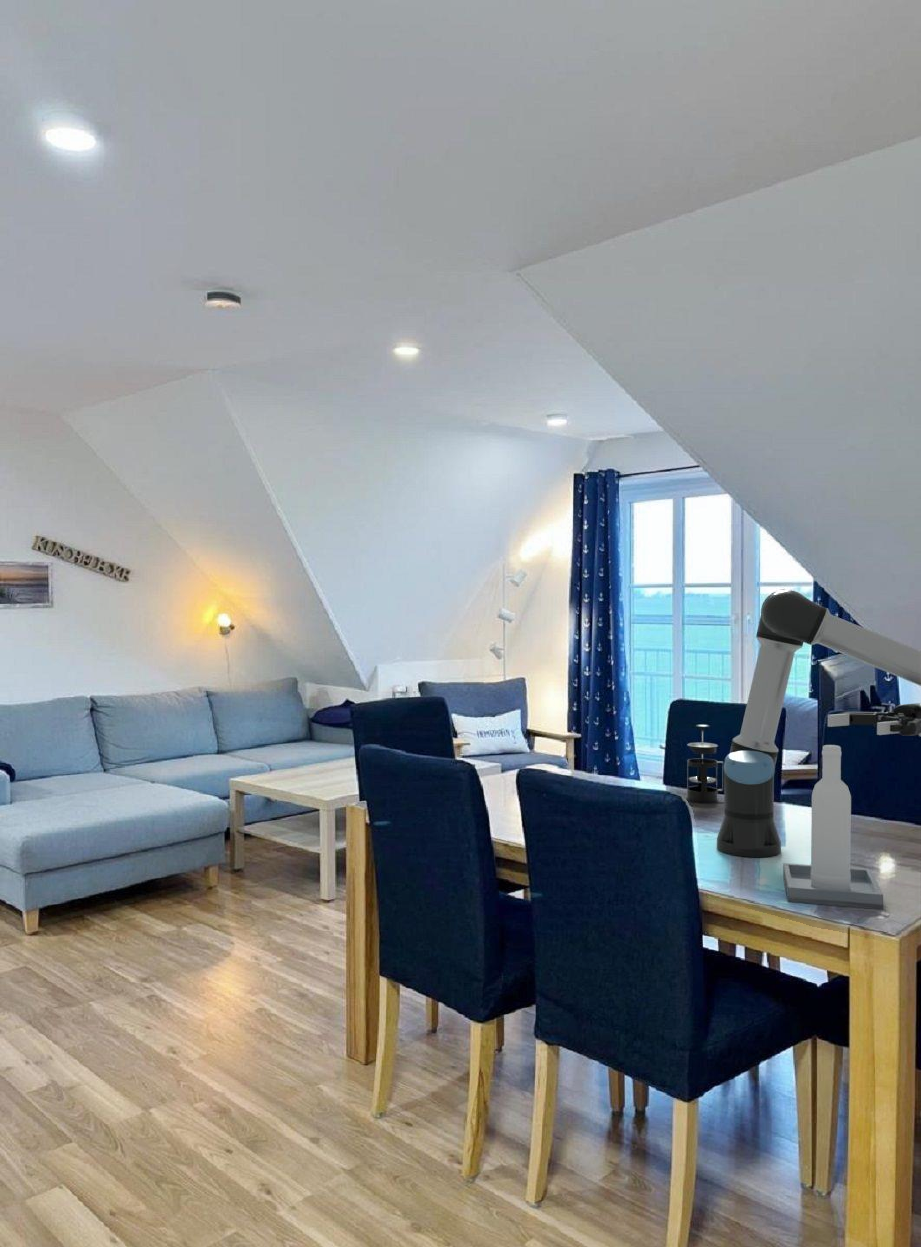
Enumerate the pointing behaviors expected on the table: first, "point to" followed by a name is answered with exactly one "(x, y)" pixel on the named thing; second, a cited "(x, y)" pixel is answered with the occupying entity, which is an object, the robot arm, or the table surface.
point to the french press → (703, 773)
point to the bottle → (831, 826)
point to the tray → (859, 895)
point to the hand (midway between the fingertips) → (852, 724)
